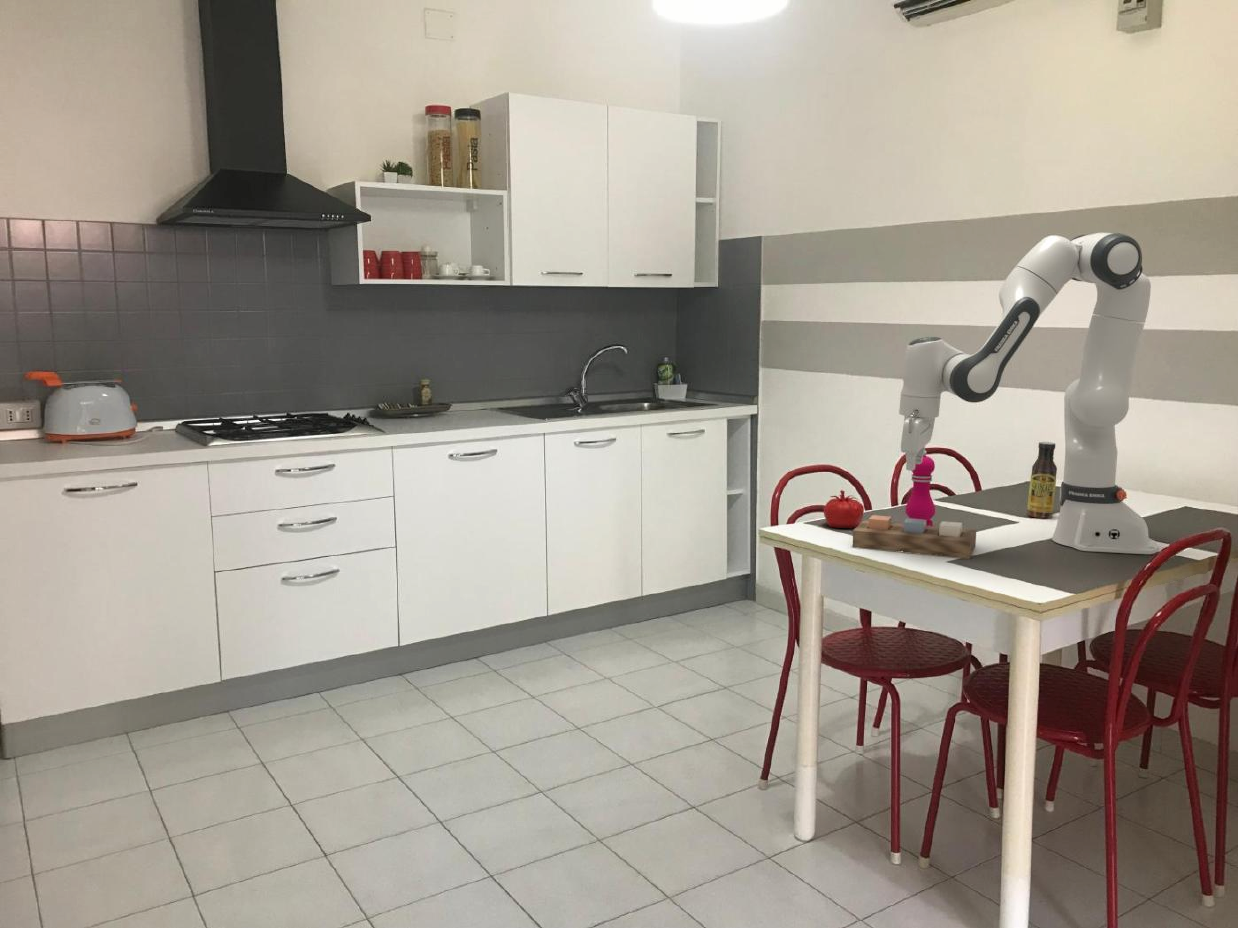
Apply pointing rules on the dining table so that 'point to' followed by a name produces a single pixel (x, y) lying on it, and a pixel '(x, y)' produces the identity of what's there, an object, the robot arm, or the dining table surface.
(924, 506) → the pepper mill
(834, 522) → the red tomato
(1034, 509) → the sauce bottle
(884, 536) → the button panel
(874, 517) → the terracotta button
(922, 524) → the slate button
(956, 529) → the cream button
